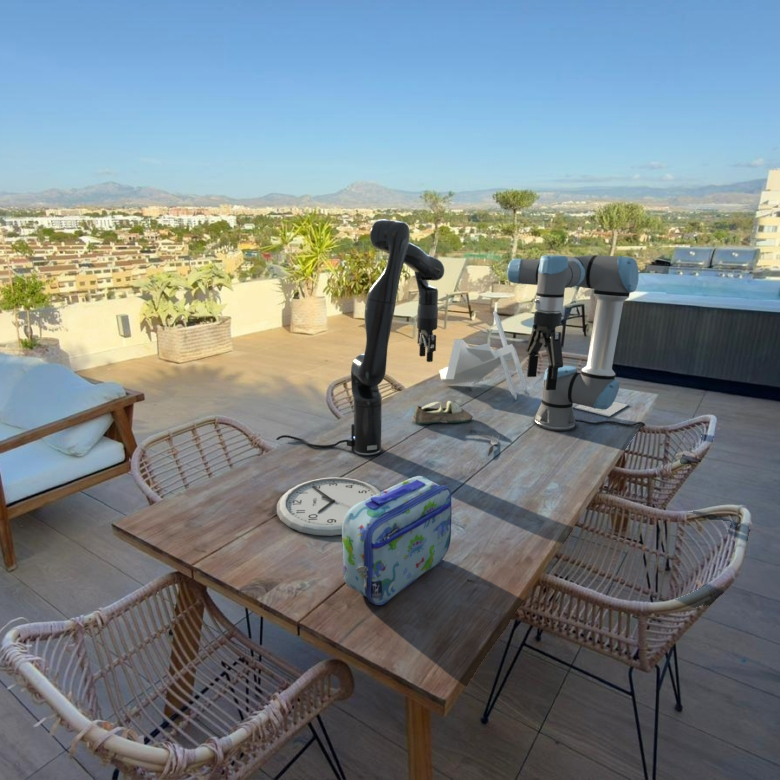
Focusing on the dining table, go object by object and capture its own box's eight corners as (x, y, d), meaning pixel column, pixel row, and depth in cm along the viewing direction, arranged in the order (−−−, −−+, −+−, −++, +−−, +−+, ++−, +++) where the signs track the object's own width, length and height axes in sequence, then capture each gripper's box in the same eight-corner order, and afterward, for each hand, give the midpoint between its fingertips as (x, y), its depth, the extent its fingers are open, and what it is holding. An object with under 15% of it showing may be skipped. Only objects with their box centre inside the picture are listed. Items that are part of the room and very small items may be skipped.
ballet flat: (476, 422, 205) (477, 402, 203) (417, 428, 199) (418, 407, 196) (467, 415, 213) (468, 396, 210) (410, 420, 206) (411, 400, 204)
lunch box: (371, 618, 102) (371, 524, 95) (336, 591, 109) (334, 502, 103) (455, 562, 119) (460, 479, 113) (420, 542, 126) (423, 463, 120)
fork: (484, 456, 175) (484, 450, 174) (492, 439, 189) (492, 434, 188) (491, 457, 174) (492, 452, 173) (499, 440, 188) (499, 435, 188)
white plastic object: (461, 429, 252) (437, 405, 227) (444, 352, 274) (420, 323, 250) (535, 404, 240) (518, 377, 215) (510, 326, 262) (492, 293, 237)
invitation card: (608, 416, 214) (573, 407, 224) (608, 416, 214) (573, 408, 224) (628, 404, 229) (594, 396, 238) (628, 405, 229) (594, 397, 238)
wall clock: (392, 527, 129) (268, 531, 127) (391, 533, 130) (269, 537, 127) (383, 473, 158) (282, 475, 155) (383, 478, 158) (282, 480, 156)
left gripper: (412, 313, 197) (410, 355, 202) (423, 319, 184) (422, 364, 189) (430, 312, 199) (429, 354, 204) (443, 319, 186) (441, 363, 191)
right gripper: (519, 305, 160) (513, 371, 166) (555, 318, 136) (546, 396, 143) (542, 304, 161) (535, 371, 167) (582, 318, 137) (572, 395, 144)
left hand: (425, 358), depth 197 cm, fingers open, 8 cm apart
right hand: (540, 382), depth 155 cm, fingers open, 13 cm apart
